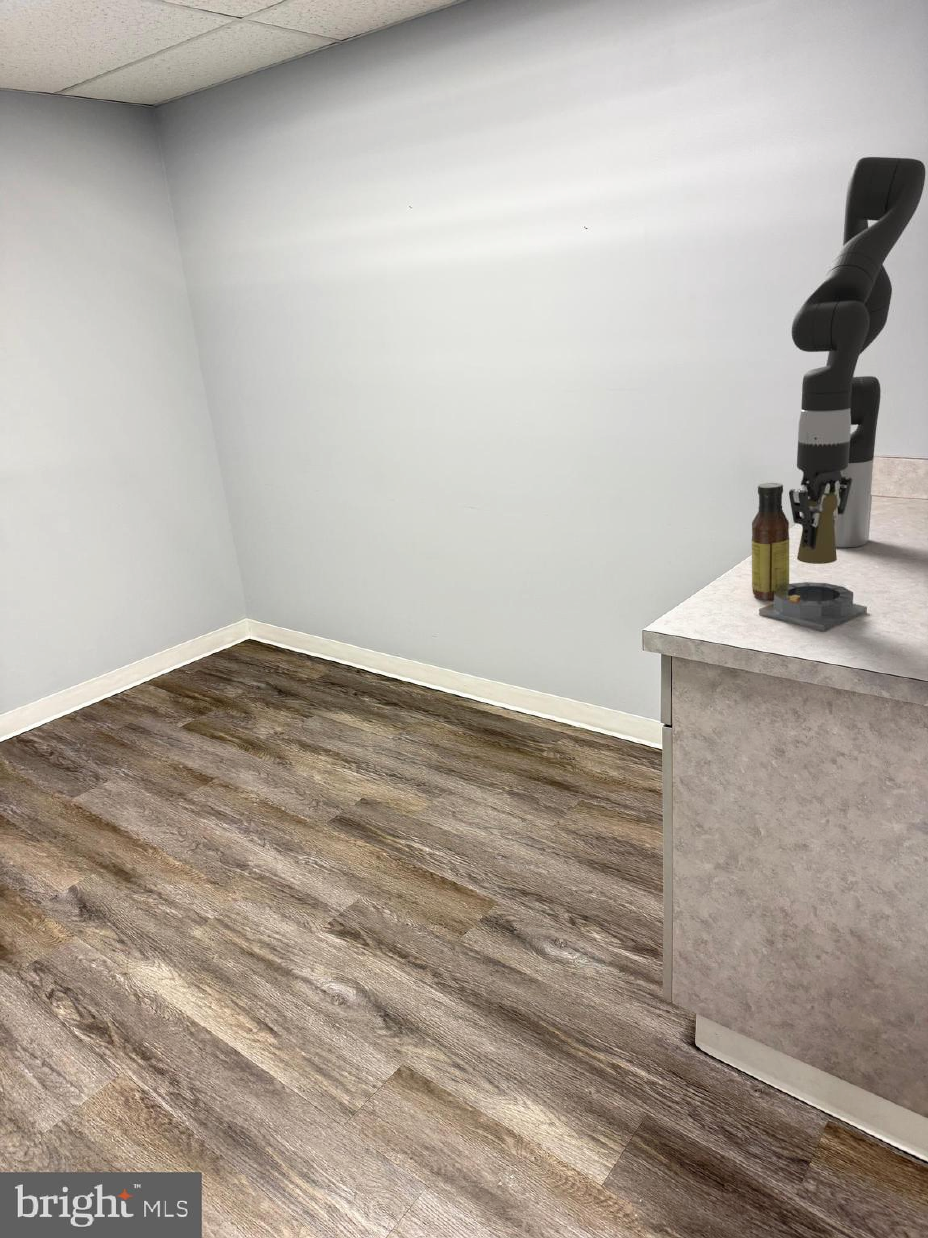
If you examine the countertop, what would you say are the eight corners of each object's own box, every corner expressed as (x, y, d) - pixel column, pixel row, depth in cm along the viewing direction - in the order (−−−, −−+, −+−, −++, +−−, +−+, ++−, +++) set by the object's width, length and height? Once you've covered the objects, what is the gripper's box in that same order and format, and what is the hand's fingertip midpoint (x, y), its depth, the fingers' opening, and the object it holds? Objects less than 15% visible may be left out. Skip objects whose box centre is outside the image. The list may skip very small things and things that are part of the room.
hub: (801, 597, 157) (803, 573, 155) (866, 612, 147) (868, 587, 146) (759, 614, 150) (760, 590, 149) (824, 631, 141) (825, 605, 139)
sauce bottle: (788, 590, 160) (794, 480, 154) (788, 602, 155) (794, 488, 148) (750, 589, 162) (754, 480, 156) (748, 600, 157) (752, 488, 150)
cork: (799, 564, 143) (803, 496, 140) (794, 553, 149) (797, 488, 145) (840, 563, 142) (844, 494, 138) (833, 553, 148) (837, 486, 144)
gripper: (818, 446, 132) (812, 559, 138) (872, 433, 140) (864, 540, 146) (774, 443, 138) (770, 551, 144) (828, 430, 146) (822, 533, 152)
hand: (817, 545), depth 145 cm, fingers closed on cork, 4 cm apart
